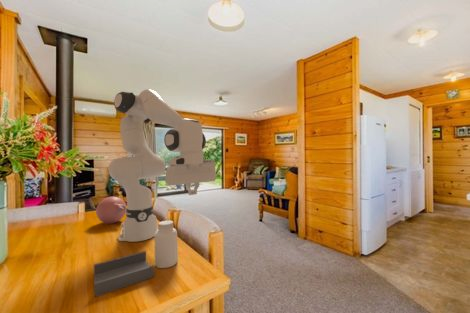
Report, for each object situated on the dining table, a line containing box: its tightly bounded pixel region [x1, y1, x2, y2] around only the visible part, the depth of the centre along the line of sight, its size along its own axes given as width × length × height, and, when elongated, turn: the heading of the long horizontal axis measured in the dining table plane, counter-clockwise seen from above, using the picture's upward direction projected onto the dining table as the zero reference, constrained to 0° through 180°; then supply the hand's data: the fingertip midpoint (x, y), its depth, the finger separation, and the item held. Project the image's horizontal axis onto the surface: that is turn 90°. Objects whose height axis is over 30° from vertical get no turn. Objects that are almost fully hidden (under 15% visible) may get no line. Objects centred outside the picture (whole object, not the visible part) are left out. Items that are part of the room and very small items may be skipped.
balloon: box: [95, 196, 127, 224], centre depth 121 cm, size 15×20×15 cm
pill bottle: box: [153, 219, 179, 269], centre depth 76 cm, size 8×8×15 cm
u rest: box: [93, 250, 155, 297], centre depth 68 cm, size 13×16×4 cm
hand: (192, 194), depth 82 cm, fingers closed
